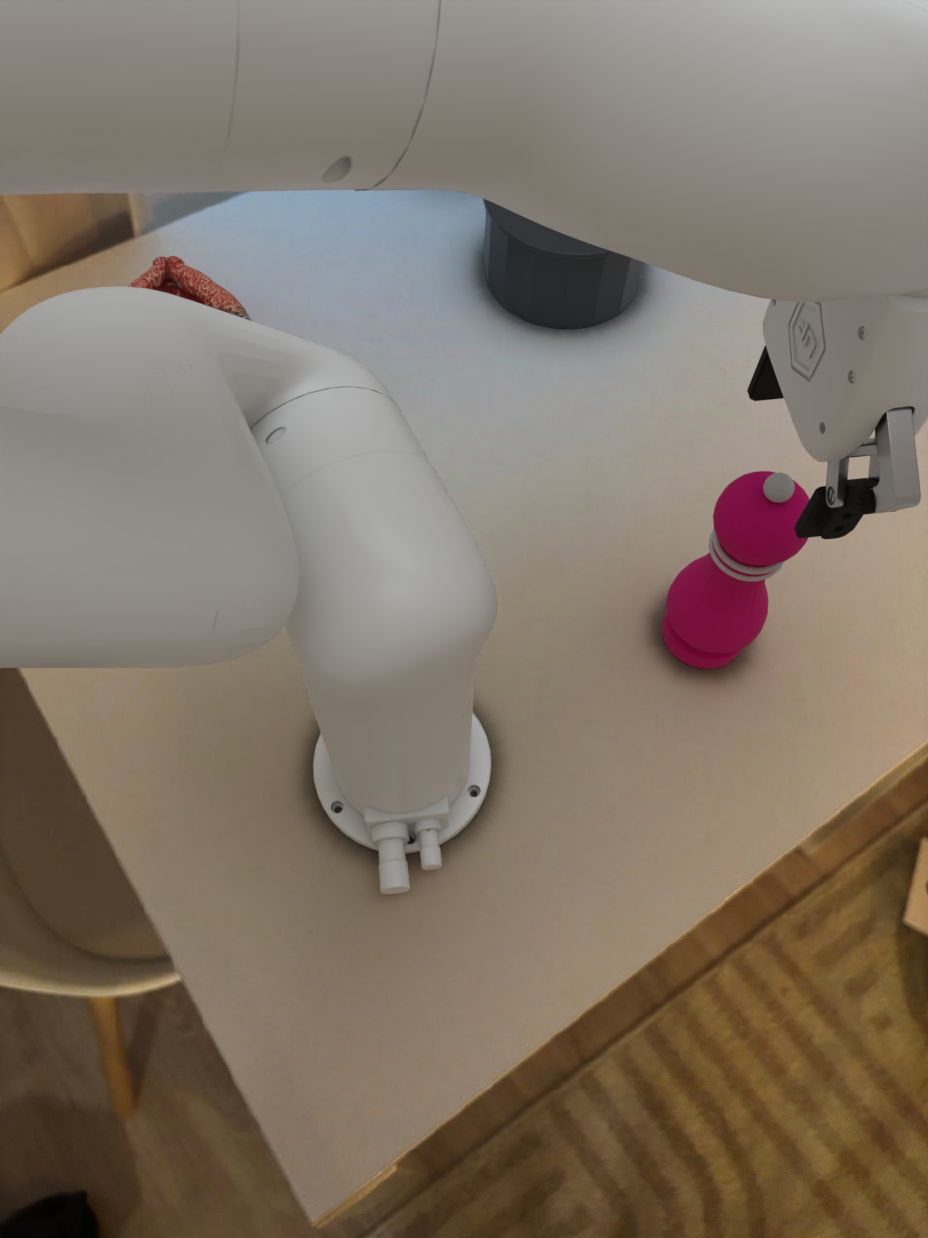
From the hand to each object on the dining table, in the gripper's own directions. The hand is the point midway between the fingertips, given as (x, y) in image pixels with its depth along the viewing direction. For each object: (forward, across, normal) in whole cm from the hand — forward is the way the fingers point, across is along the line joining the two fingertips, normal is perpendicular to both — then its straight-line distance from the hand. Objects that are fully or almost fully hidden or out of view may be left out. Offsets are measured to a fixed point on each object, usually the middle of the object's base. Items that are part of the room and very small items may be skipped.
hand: (796, 460), depth 54 cm
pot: (+22, -40, -4) cm, 46 cm away
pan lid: (+13, -40, -4) cm, 42 cm away
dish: (+21, -26, -40) cm, 53 cm away
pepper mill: (+22, 0, 0) cm, 22 cm away
